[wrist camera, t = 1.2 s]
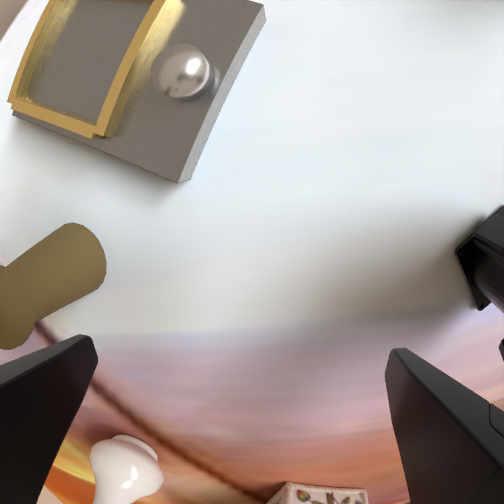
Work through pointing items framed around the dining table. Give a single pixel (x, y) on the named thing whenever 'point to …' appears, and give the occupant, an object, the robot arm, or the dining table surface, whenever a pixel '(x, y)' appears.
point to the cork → (48, 280)
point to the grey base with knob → (136, 75)
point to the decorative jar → (318, 495)
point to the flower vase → (124, 470)
